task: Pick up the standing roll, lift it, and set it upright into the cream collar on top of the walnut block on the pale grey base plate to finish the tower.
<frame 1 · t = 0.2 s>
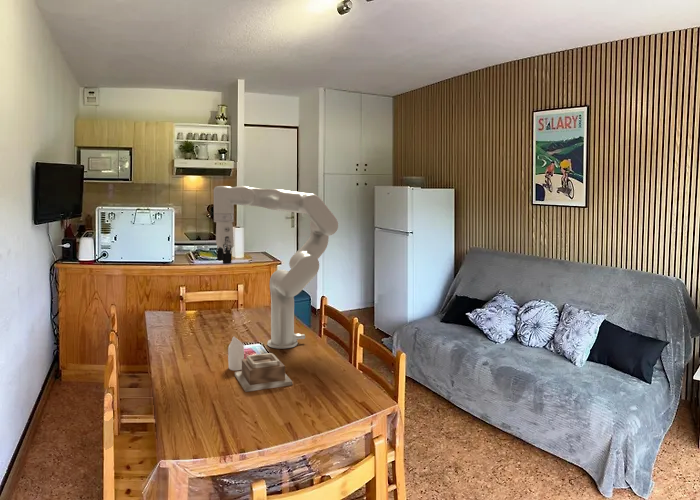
hand: (224, 261, 207), 36 cm above the table, tool pointing down, fingers open, 9 cm apart
roll: (236, 368, 194), on the table
tower base: (263, 379, 183), on the table
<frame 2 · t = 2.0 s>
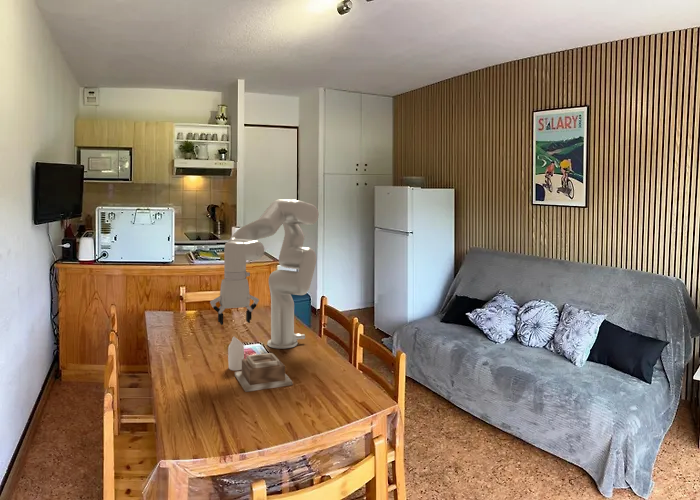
hand: (234, 322, 191), 17 cm above the table, tool pointing down, fingers open, 9 cm apart
nothing on the table moved.
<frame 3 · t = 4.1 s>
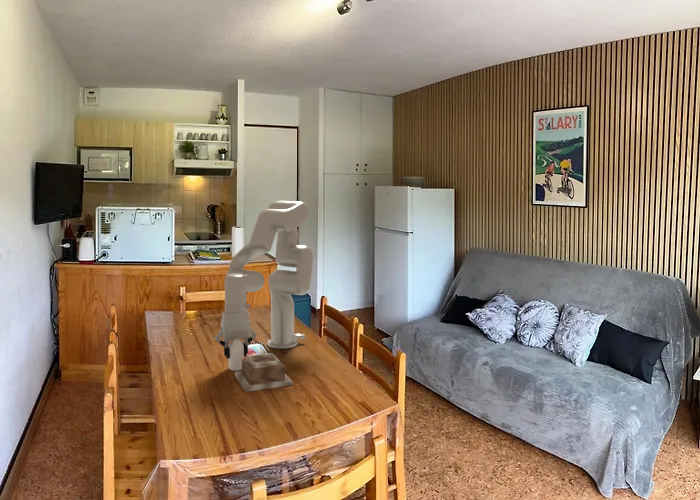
hand: (236, 356, 193), 5 cm above the table, tool pointing down, fingers closed on roll, 5 cm apart
roll: (236, 368, 194), on the table, touching gripper
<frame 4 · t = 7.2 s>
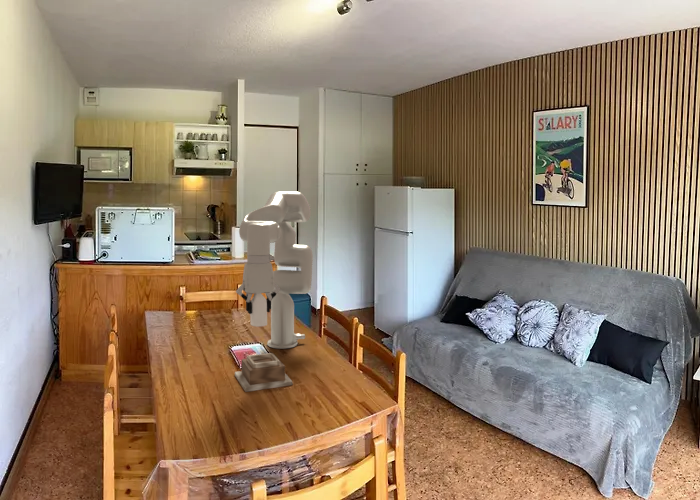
hand: (258, 311, 181), 24 cm above the table, tool pointing down, fingers closed on roll, 5 cm apart
roll: (258, 325, 182), point 19 cm above the table, touching gripper
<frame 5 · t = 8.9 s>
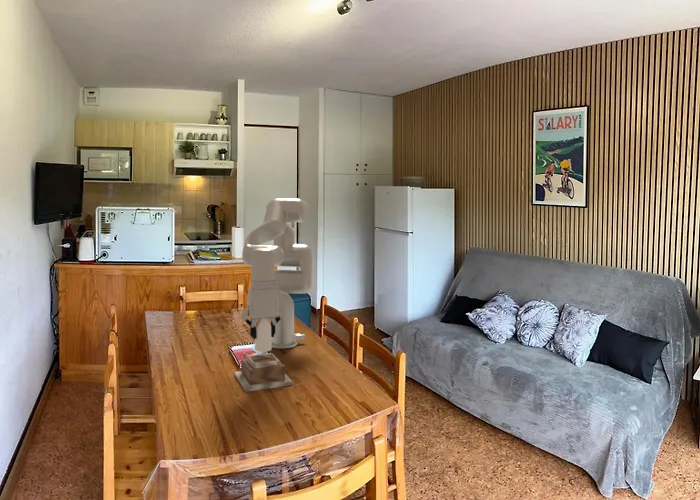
hand: (262, 336, 180), 15 cm above the table, tool pointing down, fingers closed on roll, 5 cm apart
roll: (262, 350, 181), point 11 cm above the table, touching gripper
when the fingers open (12 cm above the table, at t = 10.5 s): roll stays where it is, resting on tower base.
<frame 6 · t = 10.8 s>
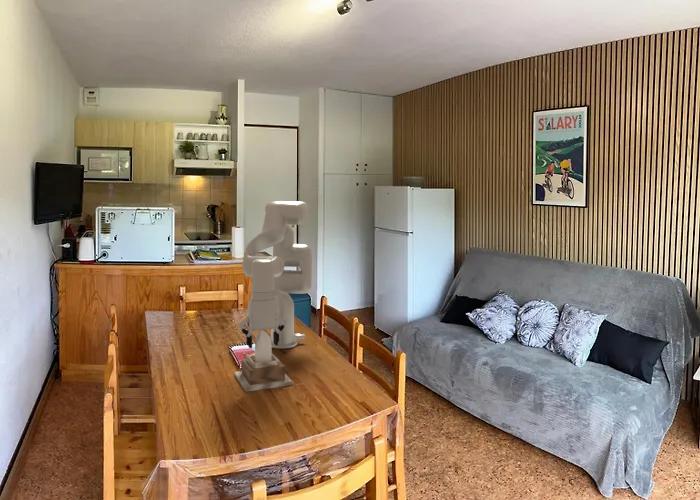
hand: (262, 345, 181), 12 cm above the table, tool pointing down, fingers open, 8 cm apart
roll: (263, 362, 182), point 6 cm above the table, touching tower base
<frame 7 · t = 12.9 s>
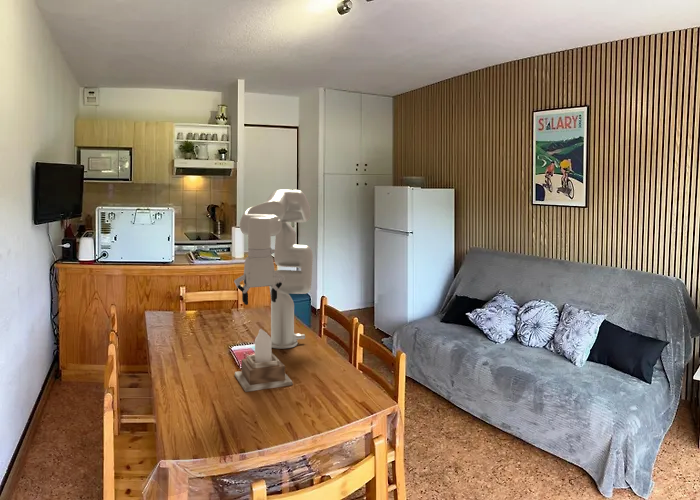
hand: (259, 302, 181), 27 cm above the table, tool pointing down, fingers open, 9 cm apart
nothing on the table moved.
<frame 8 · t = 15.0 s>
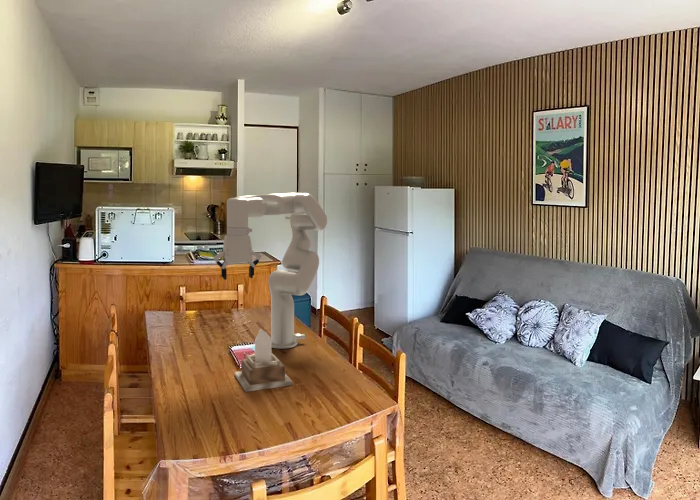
hand: (237, 278, 195), 32 cm above the table, tool pointing down, fingers open, 9 cm apart
nothing on the table moved.
at the end: roll 0.2 cm off-centre on the tower base, point 6.0 cm above the tower base's base; roll tilted 0°; the gripper is holding nothing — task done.
